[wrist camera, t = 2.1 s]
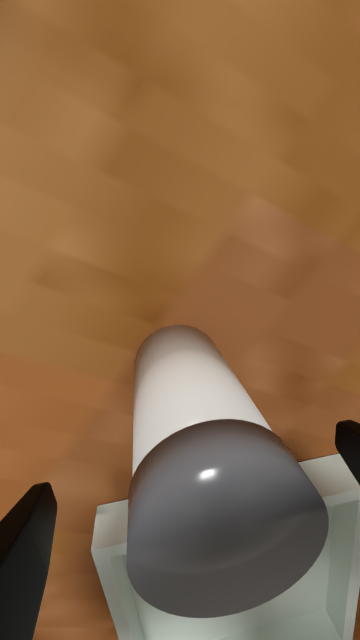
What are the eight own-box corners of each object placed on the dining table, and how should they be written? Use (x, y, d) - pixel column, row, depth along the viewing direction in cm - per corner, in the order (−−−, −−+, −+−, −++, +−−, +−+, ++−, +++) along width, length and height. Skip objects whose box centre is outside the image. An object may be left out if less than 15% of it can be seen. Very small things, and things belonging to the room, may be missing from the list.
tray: (140, 654, 22) (140, 706, 20) (97, 505, 17) (90, 551, 14) (330, 603, 23) (351, 645, 21) (342, 452, 18) (373, 486, 16)
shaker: (140, 410, 15) (144, 638, 7) (125, 331, 14) (106, 495, 5) (223, 395, 16) (324, 590, 7) (217, 316, 14) (334, 446, 6)
